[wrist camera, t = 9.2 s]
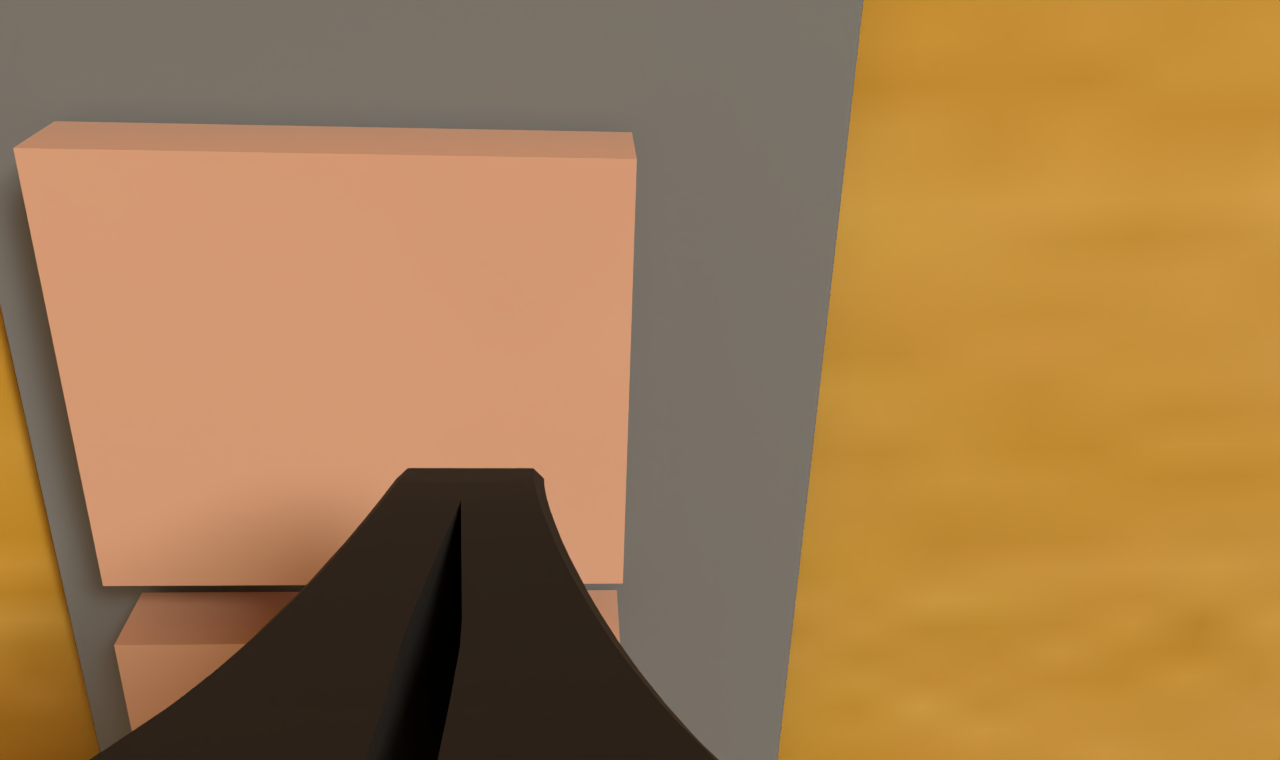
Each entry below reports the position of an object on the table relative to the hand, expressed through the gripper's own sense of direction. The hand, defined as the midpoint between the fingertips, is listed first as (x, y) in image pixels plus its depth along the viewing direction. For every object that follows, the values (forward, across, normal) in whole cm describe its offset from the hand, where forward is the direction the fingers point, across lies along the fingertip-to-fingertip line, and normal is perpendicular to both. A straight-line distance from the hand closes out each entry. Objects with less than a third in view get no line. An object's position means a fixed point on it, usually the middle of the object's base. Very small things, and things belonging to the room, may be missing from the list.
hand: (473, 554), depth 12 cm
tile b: (+4, -2, 0) cm, 5 cm away
